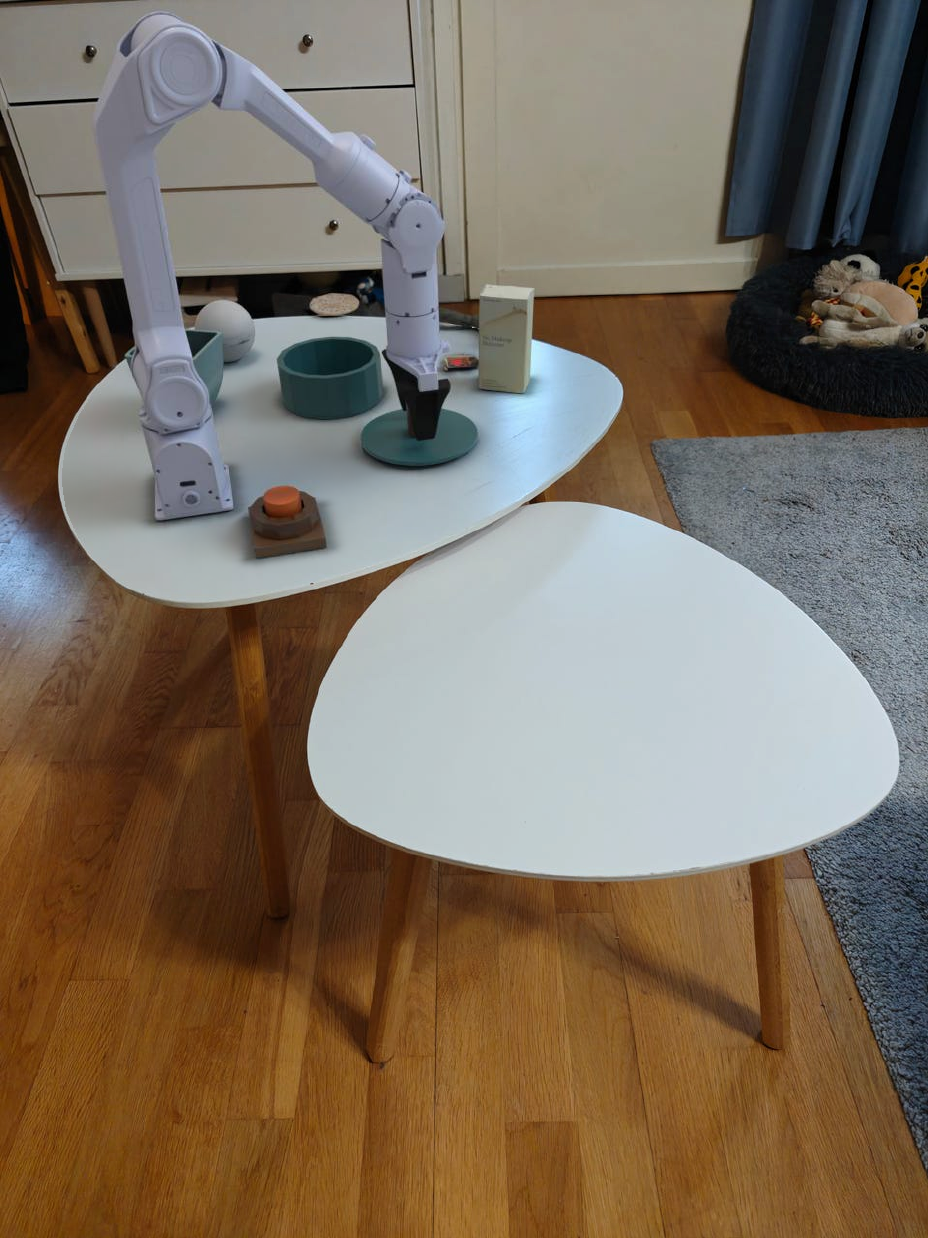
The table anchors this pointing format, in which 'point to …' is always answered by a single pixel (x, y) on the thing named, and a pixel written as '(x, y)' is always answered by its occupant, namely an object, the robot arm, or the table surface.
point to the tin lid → (399, 445)
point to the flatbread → (334, 304)
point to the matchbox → (461, 361)
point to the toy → (458, 318)
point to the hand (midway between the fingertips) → (418, 423)
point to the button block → (286, 529)
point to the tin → (330, 377)
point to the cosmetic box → (505, 338)
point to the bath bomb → (228, 327)
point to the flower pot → (203, 358)
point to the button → (282, 501)
